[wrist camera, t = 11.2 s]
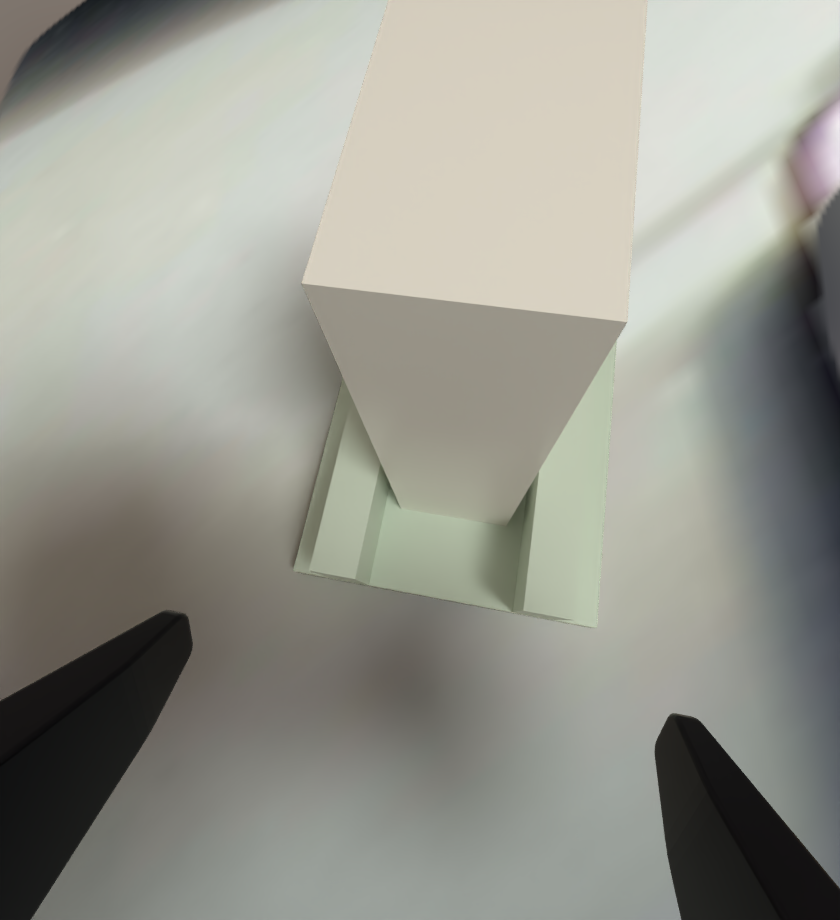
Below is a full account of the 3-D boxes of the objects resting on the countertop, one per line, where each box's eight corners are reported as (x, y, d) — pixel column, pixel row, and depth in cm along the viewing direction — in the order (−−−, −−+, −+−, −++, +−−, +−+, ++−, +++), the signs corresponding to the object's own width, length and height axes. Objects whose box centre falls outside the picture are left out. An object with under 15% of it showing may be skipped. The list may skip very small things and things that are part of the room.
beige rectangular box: (506, 525, 18) (627, 322, 6) (400, 508, 18) (301, 282, 6) (525, 382, 20) (647, -10, 7) (428, 369, 20) (394, -22, 8)
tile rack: (590, 627, 17) (623, 629, 14) (299, 572, 19) (266, 562, 15) (611, 340, 21) (641, 287, 18) (366, 310, 22) (350, 255, 19)
